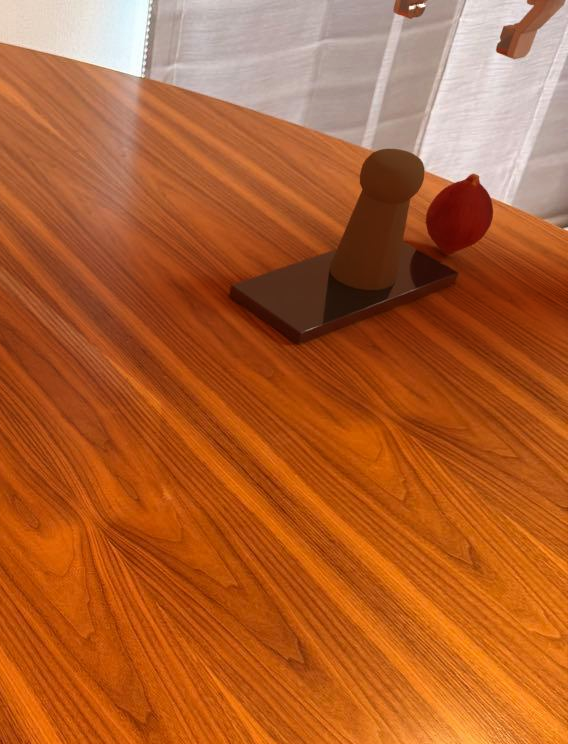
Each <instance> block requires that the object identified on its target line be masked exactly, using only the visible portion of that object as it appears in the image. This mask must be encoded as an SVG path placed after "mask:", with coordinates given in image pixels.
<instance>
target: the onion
mask: <svg viewBox="0 0 568 744" xmlns="http://www.w3.org/2000/svg"><path fill="white" fill-rule="evenodd" d="M493 218H494V207H493V203H492V198H491V196H490V194H489V191H488V190H487V189H486V188H485V187H484V185H482V184H481V181H480V175H479V174H477V173H471V174H469V175H467V176H466V178H465V179H462V180H458V181H456V182H454V183H451V184H449V185H447V186H446V187H445V188H443V189H441V191H440V192H439V193H437V194H436V196H435V197H434V198H433V200H432V201H431V203H430V204H429V206H428V209H427V211H426V216H425V225H426V230H427V234H428V237H430V239H431V240H432V241H433V242H434V244H435V245H436V247H438V249H439V250H440V252H441V253H442V254H444V255H452V254H454V253H457V252H459V251H462V250H464V249H466V248H469V247H471V246H473V245H475V244H476V243H478V242H479V241H480V240H482V239H483V237H484V236H485V235H486V234H487V232H488V230H489V229H490V228H491V226H492V221H493Z"/></svg>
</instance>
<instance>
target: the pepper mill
mask: <svg viewBox="0 0 568 744" xmlns="http://www.w3.org/2000/svg"><path fill="white" fill-rule="evenodd" d="M425 170H426V167H425V165H424V162H423V160H422V159H421V158H420V157H419V156H417V155H416V154H415V153H413V152H410V151H408V150H403V149H398V148H382V149H378V150H375V151H373V152H372V153H371V154H370V155H369V156H368V157H366V158H365V160H364V162H363V163H362V165H361V168H360V173H359V185H360V187H361V191H360V194H359V197H358V199H357V201H356V204H355V206H354V208H353V210H352V213H351V215H350V216H349V219H348V222H347V224H346V227H345V229H344V231H343V234H342V236H341V239H340V241H339V243H338V246H337V248H336V249H337V250H336V252H335V255H334V257H333V259H332V262H331V264H330V269H329V270H330V272H331V275H332V276H333V277H334V278H335V279H336V280H338V281H339V282H341V283H343V284H345V285H347V286H350V287H353V288H357V289H363V290H380V289H386V288H388V287H390V286H392V285H393V284H394V283H395V282H396V278H397V272H398V266H399V261H400V255H401V249H402V244H403V242H404V237H405V230H406V226H407V220H408V214H409V209H410V204H411V203H410V202H411V199H413V197H415V195H417V194H418V192H419V191H420V189H421V188H422V186H423V183H424V181H425V172H426V171H425Z"/></svg>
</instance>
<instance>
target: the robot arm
mask: <svg viewBox="0 0 568 744" xmlns="http://www.w3.org/2000/svg"><path fill="white" fill-rule="evenodd" d="M427 1H428V0H394V4H393V5H394V6H393V10H392V11H393V13H394V14H396V15H398V16H401V17H404V18H407V19H410V20H411V19H413V18H420V17H421V16H422V15H423V14H424V13H425V10H426V7H427V6H426V2H427ZM566 1H567V0H526V3H527V5H529V6H532V7H531V8H530V9H529V11H528V12H527V13H526V14H525V15H524V16H523V17H522V19H521V20H520V21H519V22H516V23H513V24H508V25H503V26H502V30H501V32H500V36H499V39H500V41H498V43H497V45H496V47H495V52H496V53H497V54H499V55H502V56H504V57H507V58H510V59H512V60H519V59H522V58H525V57H527V55H528V54H529V53H530V52H531V49H532V46H533V43H534V41H535V38H536V35H537V32H538V30H540V29H541V28H542V27H544V25H546V23H547V22H548V21H549V20H550V19H552V18H553V16H554V15H555V14H556V13H557V12H558V11H560V10H561V9H562V8H563V7H564V5H565V3H566Z"/></svg>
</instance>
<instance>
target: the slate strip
mask: <svg viewBox="0 0 568 744" xmlns="http://www.w3.org/2000/svg"><path fill="white" fill-rule="evenodd" d="M336 250H337V248H334V249H332V250H329V251H326V252H323V253H320V254H318V255H314V256H312V257H309V258H306V259H303V260H300V261H297V262H294V263H291V264H288V265H286V266H283V267H280V268H276V269H273V270H272V271H268V272H265V273H263V274H262V273H261V274H259V275H256V276H253V277H249V278H247V279H244V280H242V281H241V280H240V281H238V282H235V283H233V284H231V285H230V288H229V294H228V297H229V298H230V299H232V300H234V302H236V303H237V304H239V305H241V306H242V307H244V309H246V310H247V311H249V312H250V313H252V314H253V315H255V316H257V317H258V318H259V319H260V320H262V321H264V322H265V323H266V324H268V325H269V326H270V327H272V328H273V329H275V330H276V331H278V332H279V333H280V334H282V335H283V336H285V337H286V338H288V339H289V340H291V341H292V342H293V343H295V344H296V345H301V344H303V343H306V342H309V341H311V340H314V339H316V338H318V337H321V336H324V335H327V334H329V333H332V332H335V331H336V330H340V329H343V328H344V327H345V328H346V327H347V326H350V325H353V324H355V323H357V322H360V321H363V320H365V319H368V318H370V317H373V316H376V315H378V314H381V313H383V312H386V311H389V310H391V309H394V308H396V307H400V306H401V305H404V304H407V303H409V302H412V301H415V300H417V299H420V298H423V297H424V296H425V297H426V296H428V295H430V294H433V293H435V292H438V291H440V290H443V289H445V288H448V287H451V286H454V285H455V284H456V283H457V279H458V277H459V275H460V272H459V271H457V270H455V269H454V268H452V267H450V266H448V265H447V264H444V263H443V262H441V261H439V260H437V259H435V258H434V257H432V256H431V255H429V254H427V253H425V252H423V251H422V250H420V249H418V248H416V247H414V246H412V245H410V244H409V243H407V242H405V241H403V244H402V249H401V255H400V261H399V266H398V272H397V278H396V282H395V283H394V284H393V285H392V286H390V287H388V288H386V289H380V290H363V289H357V288H353V287H350V286H347V285H345V284H343V283H341V282H339V281H338V280H336V279H335V278H334V277H333V276H332V275H331V272H330V270H329V269H330V264H331V262H332V259H333V257H334V255H335V252H336Z"/></svg>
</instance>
